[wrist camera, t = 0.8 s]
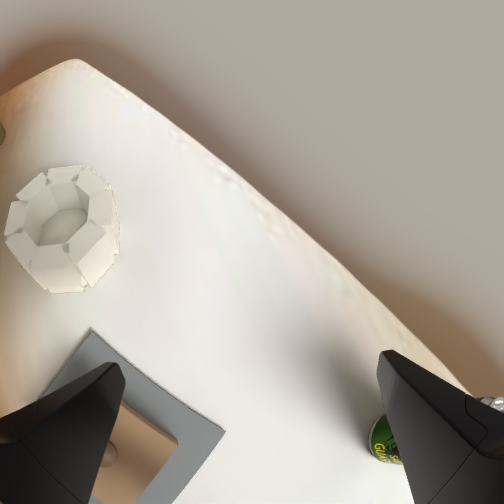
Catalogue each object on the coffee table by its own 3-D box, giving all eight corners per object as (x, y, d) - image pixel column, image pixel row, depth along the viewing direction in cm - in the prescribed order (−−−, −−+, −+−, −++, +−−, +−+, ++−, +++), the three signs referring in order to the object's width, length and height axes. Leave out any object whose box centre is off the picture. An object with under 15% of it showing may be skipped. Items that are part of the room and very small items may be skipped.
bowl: (67, 315, 18) (47, 296, 15) (11, 247, 19) (-10, 220, 15) (140, 236, 23) (136, 205, 19) (77, 183, 24) (68, 150, 20)
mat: (142, 535, 12) (141, 537, 11) (16, 437, 12) (13, 438, 12) (224, 430, 18) (226, 431, 18) (93, 332, 19) (92, 331, 18)
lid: (127, 502, 13) (122, 519, 10) (50, 442, 13) (32, 448, 10) (177, 439, 16) (178, 447, 14) (97, 378, 17) (85, 376, 14)
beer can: (384, 399, 22) (494, 379, 12) (414, 424, 22) (516, 411, 11) (355, 447, 19) (469, 455, 9) (389, 469, 19) (494, 477, 9)
